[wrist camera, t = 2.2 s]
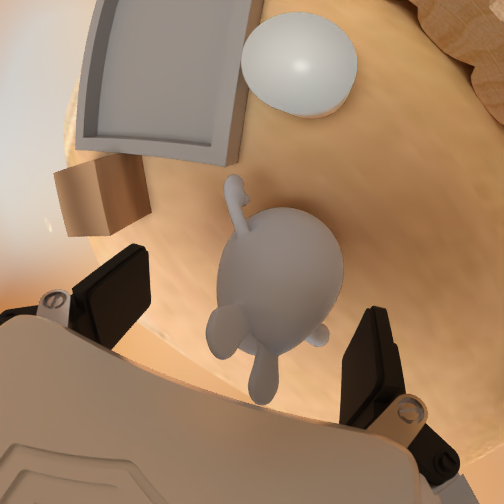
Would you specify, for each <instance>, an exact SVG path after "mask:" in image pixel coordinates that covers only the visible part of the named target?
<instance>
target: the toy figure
mask: <svg viewBox="0 0 504 504" xmlns="http://www.w3.org/2000/svg"><path fill="white" fill-rule="evenodd" d="M224 197H225V201H226V204H227V207H228V210H229V214H230V217H231V220H232V223H233V225H234V228H235V231H234V232H233V233H232V235H231V236H230V238H229V240H228V241H227V243H226V245H225V248H224V250H223V253H222V256H221V260H220V264H219V269H218V276H217V305H218V308H217V309H215V310H214V311H213V312H212V313H211V315H210V318H209V320H208V323H207V327H206V340H207V343H208V346H209V349H210V351H211V352H212V353H213V355H214V356H215V357H216V358H218V359H221V360H224V359H227V358H229V357H231V356H232V355H233V354H234V353H235V351H236V350H237V348H239V349H240V350H242V351H244V352H246V353H248V354H251V355H255V360H254V365H253V368H252V371H251V374H250V378H249V383H248V390H249V395H250V397H251V399H252V400H253V401H254V402H255V403H256V404H258V405H266V404H268V403H270V402H271V400H272V399H273V397H274V396H275V394H276V392H277V389H278V384H279V373H278V356H279V355H281V354H283V353H285V352H287V351H289V350H291V349H292V348H294V347H295V346H297V345H298V344H300V343H301V342H302V341H303V340H305V341H306V342H308V343H309V344H311V345H313V346H316V347H320V346H324V345H325V344H326V343H327V342H328V340H329V329H328V328H327V326H326V325H324V324H321V323H322V322H323V320H324V319H325V318H326V316H327V315H328V313H329V312H330V310H331V309H332V307H333V305H334V304H335V302H336V300H337V297H338V295H339V293H340V289H341V286H342V282H343V275H344V262H343V256H342V252H341V249H340V246H339V244H338V241H337V240H336V238H335V236H334V235H333V233H332V232H331V230H330V229H329V228H328V227H327V226H326V225H325V224H324V223H323V222H322V221H321V220H319V219H318V218H316V217H315V216H313V215H311V214H309V213H307V212H305V211H302V210H299V209H295V208H288V207H278V208H271V209H267V210H263V211H261V212H258V213H256V214H254V215H252V216H251V217H249V218H248V219H245V217H244V214H243V211H242V207H243V206H245V205H247V204H248V203H249V202H250V197H249V195H247V194H245V191H244V181H243V179H242V178H241V177H240V176H238V175H235V174H233V175H230V176H229V177H228V178H227V179H226V181H225V183H224Z"/></svg>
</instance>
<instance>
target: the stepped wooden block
mask: <svg viewBox="0 0 504 504" xmlns="http://www.w3.org/2000/svg"><path fill="white" fill-rule="evenodd" d="M409 1H411V2H412V3H413V4H414V5H415V6H417V7H418V20H419V23H420V25H421V27H422V29H423V31H424V32H425V33H426V34H427V35H428V36H429V38H430V39H431V40H432V41H433V42H434V43H435V44H436V45H437V46H438V47H439V48H440V49H441V50H442V51H444V52H445V53H446V54H448V55H450V56H451V57H453V58H455V59H457V60H460V61H462V62H465V63H467V64H470V65H472V66H475V68H474V70H473V73H472V75H471V82H472V86H473V88H474V91H475V93H476V95H477V97H478V98H479V100H480V101H481V102H482V104H483V105H484V107H485V108H486V109H487V110H488V112H489V113H490V114H491V115H492V116H493V117H494V118H495V119H496V120H497V121H498V122H499V123H501V124H502V125H504V0H409Z"/></svg>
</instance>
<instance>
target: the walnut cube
mask: <svg viewBox="0 0 504 504" xmlns="http://www.w3.org/2000/svg"><path fill="white" fill-rule="evenodd" d="M54 179H55V184H56V188H57V193H58V198H59V203H60V207H61V211H62V215H63V219H64V223H65V226H66V231H67V233H68V237H76V236H77V237H80V236H111V235H113V234H114V233H116V232H118V231H119V230H121V229H123V228H125V227H126V226H128V225H130V224H132V223H133V222H135V221H137V220H139V219H141V218H143V217H144V216H146V215H148V214H150V213H152V212H151V207H150V201H149V196H148V191H147V185H146V179H145V173H144V167H143V161H142V155H136V154H126V153H121V154H116V155H112V156H108V157H104V158H100V159H96V160H92V161H89V162H85V163H82V164H79V165H76V166H73V167H70V168H67V169H64V170H61V171H58V172H55V173H54Z"/></svg>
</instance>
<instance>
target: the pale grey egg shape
mask: <svg viewBox="0 0 504 504" xmlns="http://www.w3.org/2000/svg"><path fill="white" fill-rule="evenodd" d="M241 67H242V72H243V76H244V78H245V81H246V83H247V85H248V86H249V88H250V89H251V91H252V92H253V93H254V94H255V95H256V96H257V97H258V98H259V99H260V100H262V101H263V102H265V103H266V104H268V105H269V106H271V107H273V108H276V109H278V110H281V111H284V112H286V113H289V114H291V115H294V116H297V117H300V118H307V119H315V118H321V117H325V116H328V115H330V114H332V113H334V112H335V111H336V110H338V109H339V108H340V107H341V106H342V105H343V104H344V102H345V101H346V99H347V97H348V95H349V92H350V90H351V88H352V85H353V83H354V80H355V78H356V73H357V56H356V52H355V49H354V46H353V44H352V42H351V41H350V39H349V37H348V36H347V35H346V34H345V32H344V31H343V30H342V29H341V28H340V27H338V26H337V25H336V24H334V23H333V22H331V21H330V20H328V19H326V18H323V17H321V16H318V15H315V14H311V13H304V12H290V13H284V14H280V15H277V16H274V17H272V18H270V19H268V20H266V21H264V22H263V23H261V24H260V25H259V26H258V27H257V28H255V29H254V30H253V32H252V33H251V34H250V35H249V37H248V39H247V40H246V42H245V45H244V47H243V51H242V57H241Z"/></svg>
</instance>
